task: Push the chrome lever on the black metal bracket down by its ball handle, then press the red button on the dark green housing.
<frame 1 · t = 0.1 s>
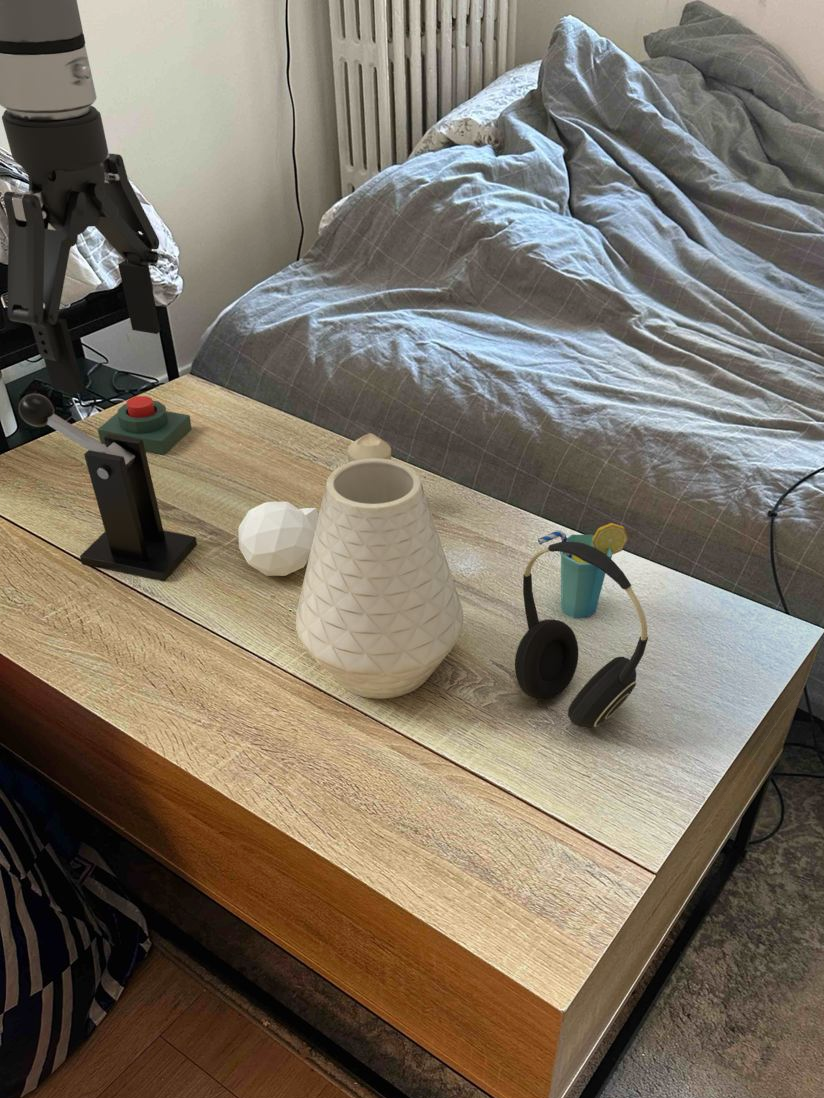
hand: (109, 358, 92), 29 cm above the table, tool pointing down, fingers open, 13 cm apart
cup: (572, 610, 114), on the table
button box: (147, 435, 139), on the table
vase: (382, 665, 106), on the table
button: (140, 407, 136), point 4 cm above the table, slide at 0.1 cm
bracket: (140, 554, 118), on the table
headphones: (570, 706, 102), on the table
lever: (75, 434, 109), point 15 cm above the table, hinge at 28.0°
candle: (372, 507, 129), on the table
white faceted round piece: (290, 564, 119), on the table
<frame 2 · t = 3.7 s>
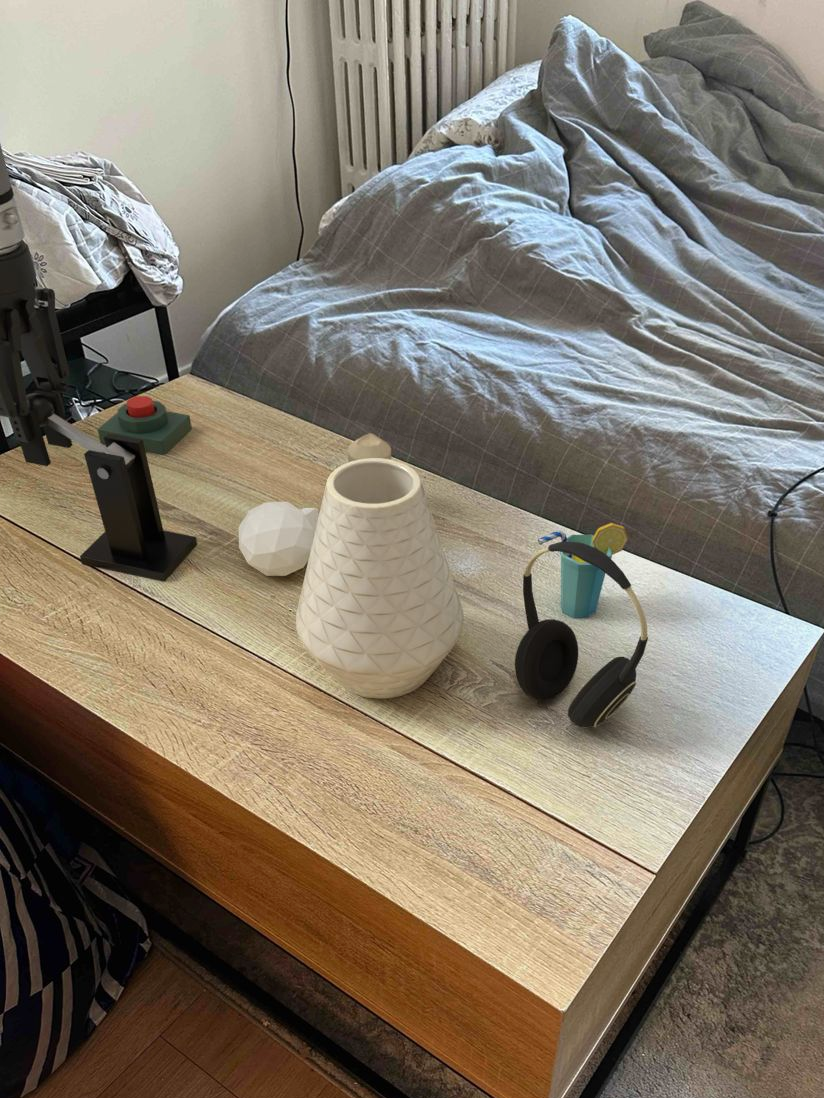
hand: (49, 453, 112), 12 cm above the table, tool pointing down, fingers closed on lever, 4 cm apart
lever: (75, 434, 109), point 15 cm above the table, hinge at 28.0°, touching gripper
everything else where it was.
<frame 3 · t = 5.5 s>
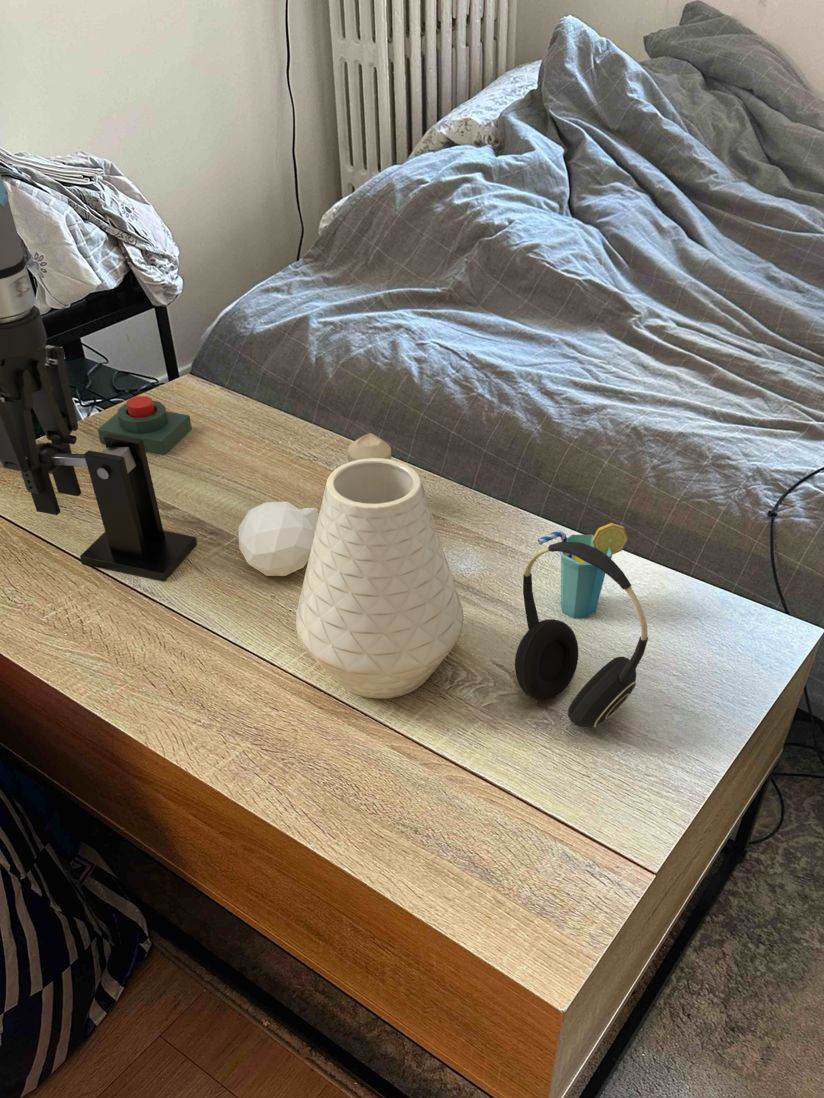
hand: (59, 501, 116), 6 cm above the table, tool pointing down, fingers closed on lever, 4 cm apart
lever: (78, 459, 111), point 12 cm above the table, hinge at -9.4°, touching gripper
everything else where it was.
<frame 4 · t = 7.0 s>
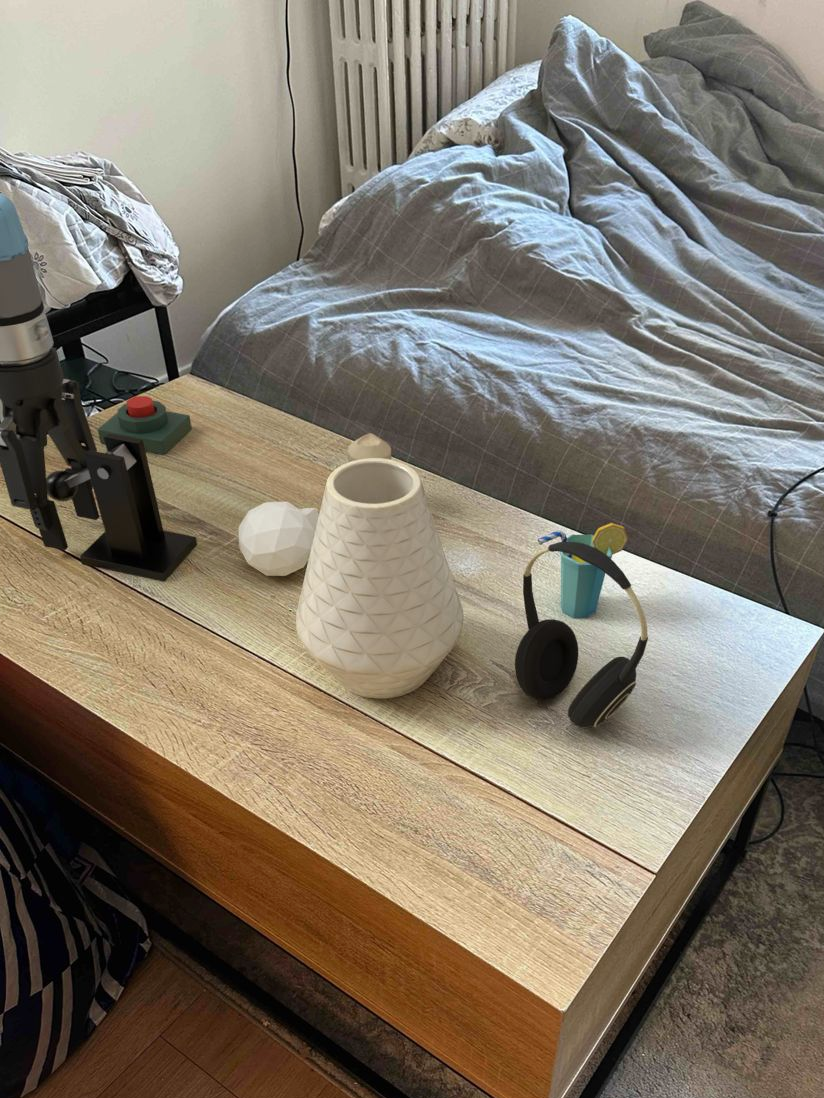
hand: (72, 531, 119), 1 cm above the table, tool pointing down, fingers open, 6 cm apart
lever: (87, 474, 112), point 10 cm above the table, hinge at -30.5°
everything else where it was.
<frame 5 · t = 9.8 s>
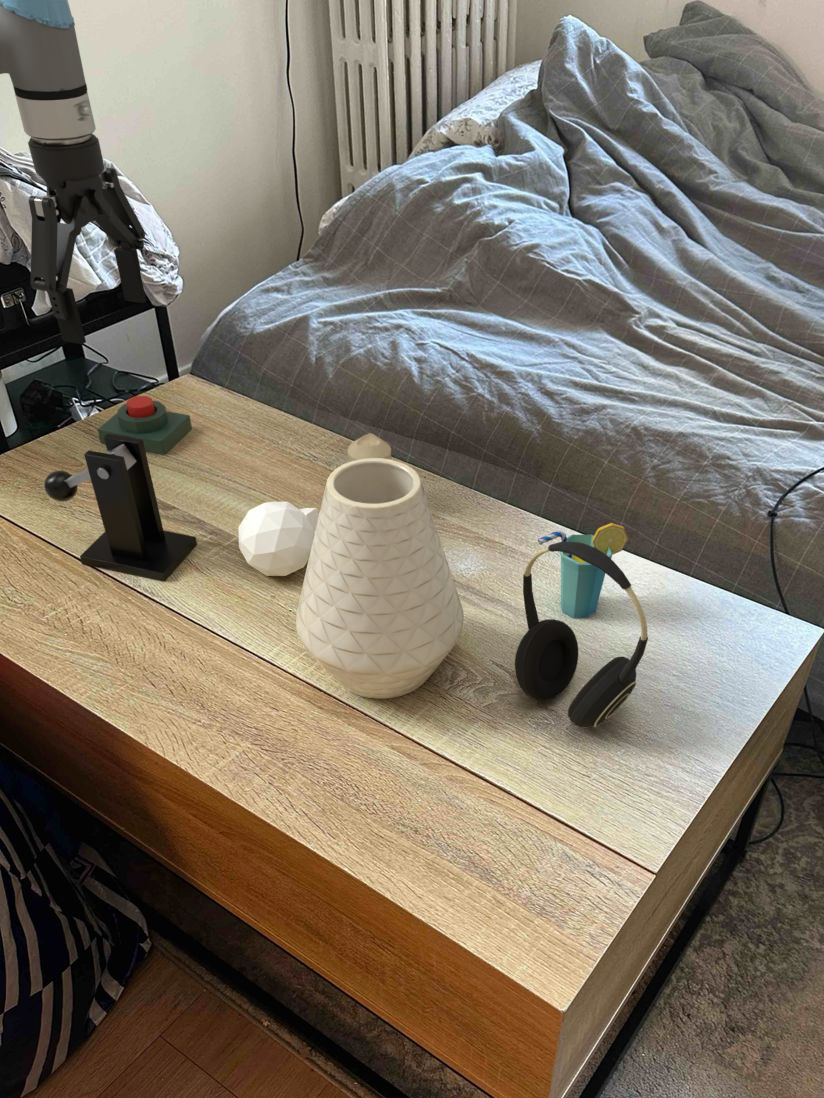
hand: (106, 320, 123), 19 cm above the table, tool pointing down, fingers open, 13 cm apart
nothing on the table moved.
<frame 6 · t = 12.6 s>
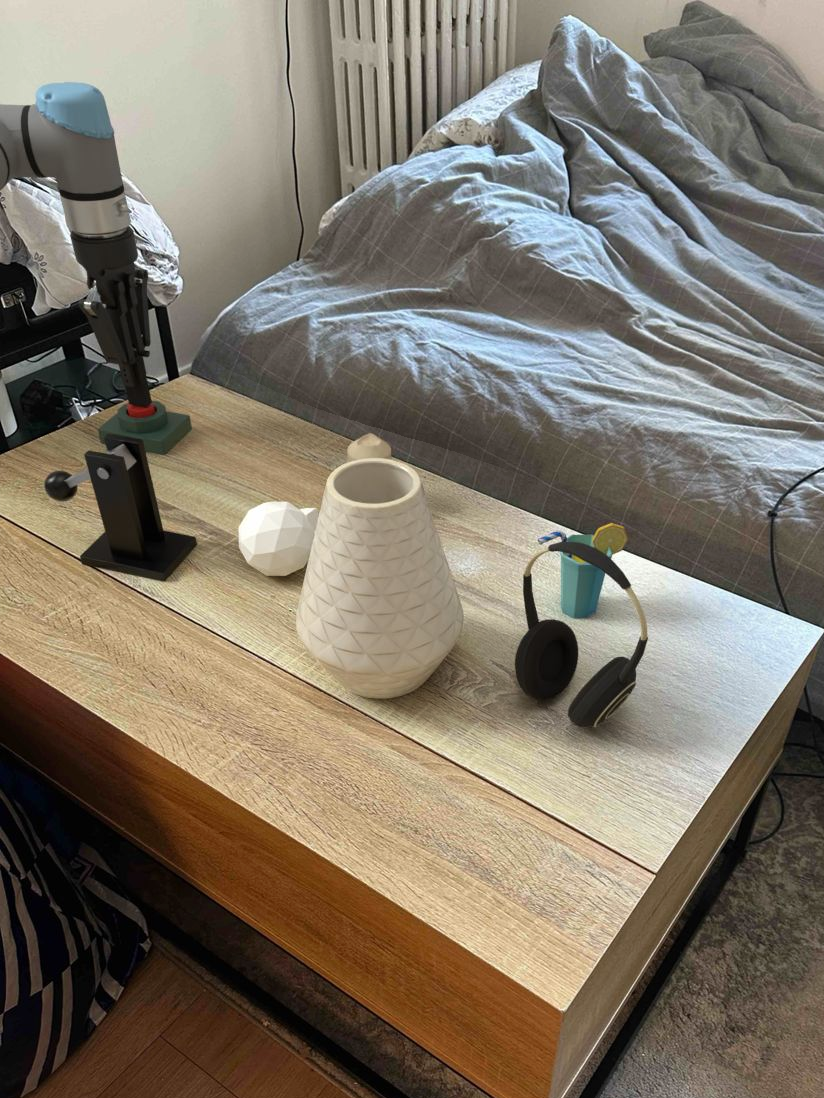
hand: (140, 403, 136), 5 cm above the table, tool pointing down, fingers closed
button: (141, 410, 137), point 4 cm above the table, slide at -0.4 cm, touching gripper
everything else where it was.
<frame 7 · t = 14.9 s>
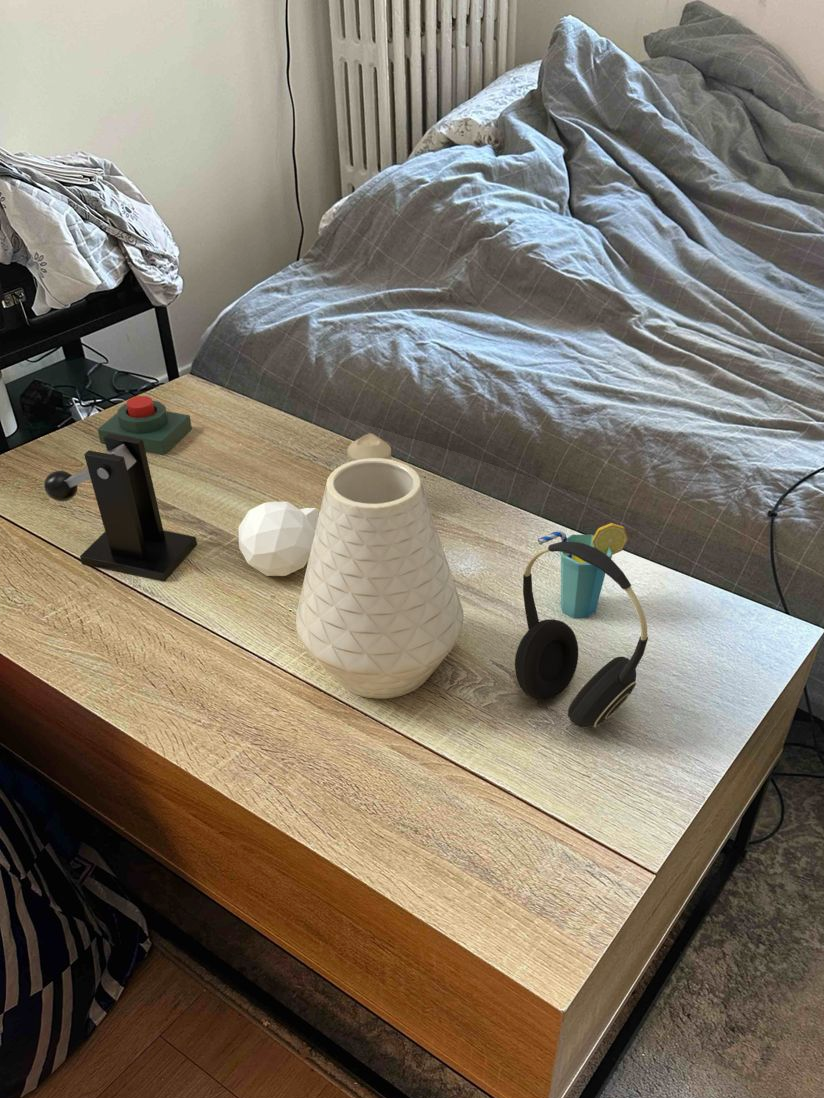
button: (140, 407, 136), point 4 cm above the table, slide at 0.1 cm
everything else where it was.
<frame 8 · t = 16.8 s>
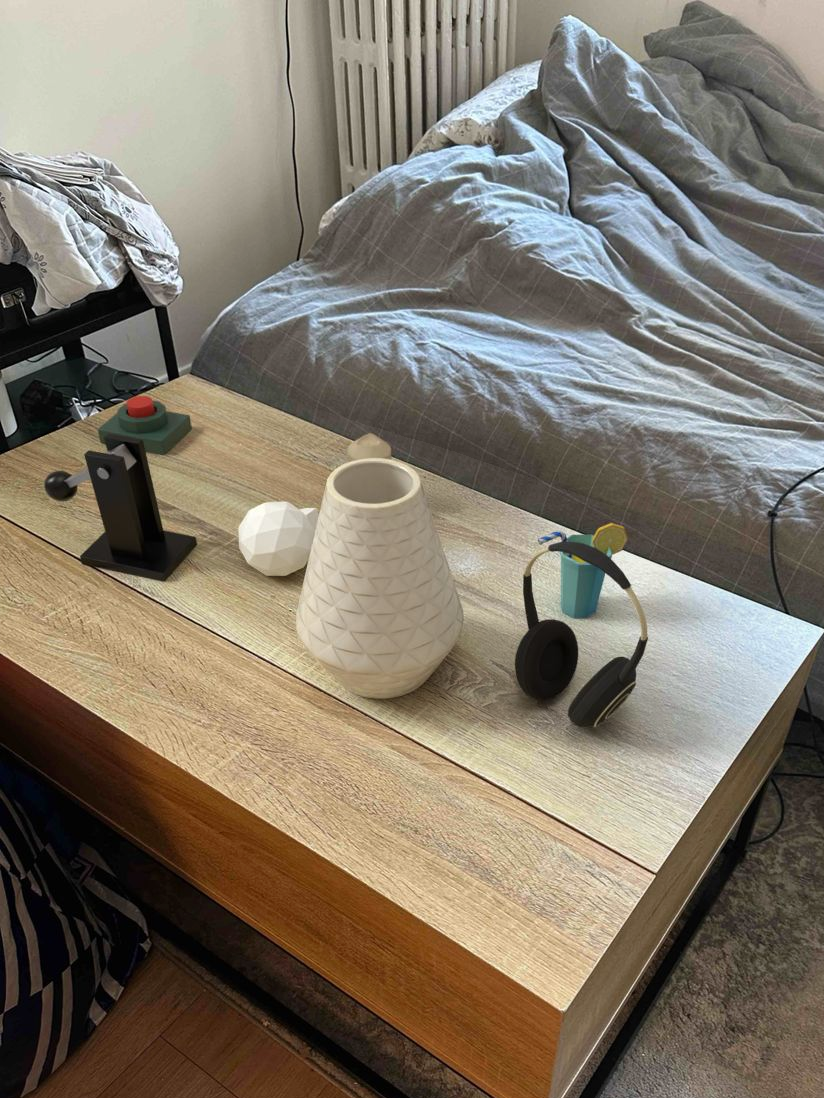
nothing on the table moved.
at the end: lever at -30° (first picture: +28°); button pushed in 1.0 cm at the most during the clip, back to where it started at the end; button slide at 0.1 cm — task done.
